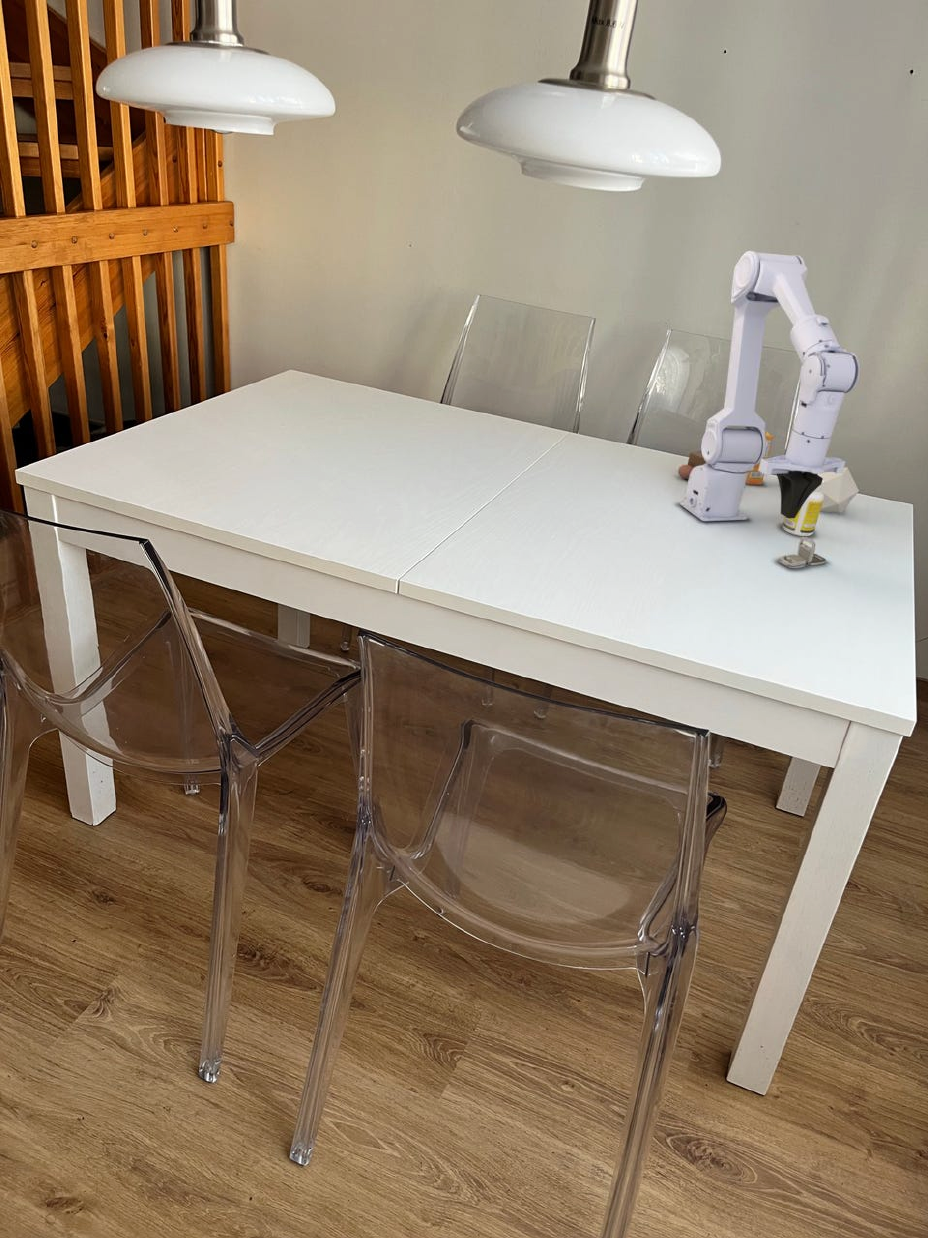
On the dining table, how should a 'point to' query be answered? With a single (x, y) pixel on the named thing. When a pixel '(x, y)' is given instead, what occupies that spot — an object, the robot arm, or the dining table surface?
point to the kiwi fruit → (685, 471)
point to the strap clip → (802, 556)
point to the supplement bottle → (806, 515)
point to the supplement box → (755, 475)
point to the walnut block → (696, 459)
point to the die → (837, 490)
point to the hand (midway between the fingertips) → (787, 515)
